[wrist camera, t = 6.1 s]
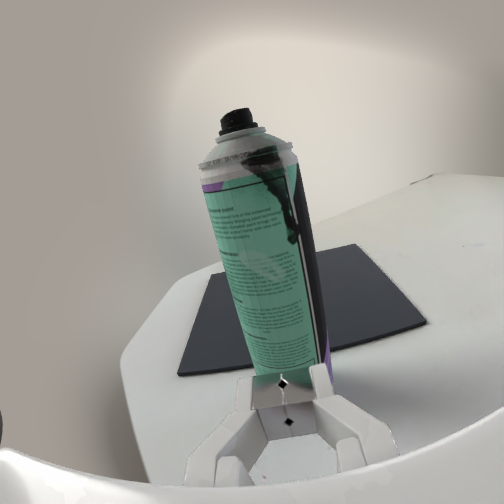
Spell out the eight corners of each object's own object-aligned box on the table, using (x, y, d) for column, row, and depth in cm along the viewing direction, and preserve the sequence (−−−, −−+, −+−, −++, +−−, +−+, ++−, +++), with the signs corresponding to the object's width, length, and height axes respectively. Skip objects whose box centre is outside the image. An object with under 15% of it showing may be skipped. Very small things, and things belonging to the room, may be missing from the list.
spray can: (346, 379, 21) (302, 97, 15) (304, 427, 18) (228, 99, 11) (293, 360, 25) (238, 119, 19) (250, 398, 22) (168, 130, 15)
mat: (178, 376, 26) (176, 373, 26) (212, 276, 49) (211, 274, 49) (426, 323, 24) (426, 320, 24) (355, 245, 47) (355, 243, 46)
